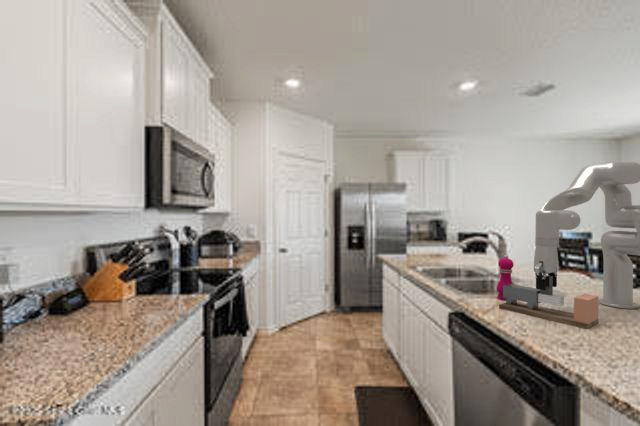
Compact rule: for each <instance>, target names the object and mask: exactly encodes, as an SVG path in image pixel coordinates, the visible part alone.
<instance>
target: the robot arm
mask: <svg viewBox="0 0 640 426" xmlns="http://www.w3.org/2000/svg"><path fill="white" fill-rule="evenodd" d="M639 182H640V163H639V162H633V161H632V162H631V161H625V162H624V161H610V162H601V163H600V162H599V163H591V164H587V165H586V166H583V168H581V169H580V171H579V173H578V174H577V175H576V177H575V178H574V180H573V181H572V182H571V183H570V185H569V187H568V188H566V189H565V190H564V191H562V192H559V193H558V194H556V195H555V196H553V197H552V198H550V199H549V200H547V201H546V202H545V203H544V205H542V207H541V209H540V210H538V211H536V213H535V241H534V242H535V245H534V246H535V251H534V257H533V272H535V273H534V274H535V288H536V289H540V290H546V279H545V277H546V275H548V276H553V288H557V286H558V282H557V281H558V267H559V264H558V263H559V260H558V259H559V256H558V254H559V253H558V248H560V230H563V231H564V230H565V231H568V230H569V231H571V230H575V229H577V228H578V227H579V226H580V224H581V217H580V215H579V214H578V213H577V212H575V211H573V210H569V208H572V207H576V206H579V205H580V206H581V205H582V204H585V203H588V202H590V200H591V199H592V198H593V196H594V195H595V194H596V192H597V190H598V189H599V188H600V189H601V192H603V195H604V219H605V223H606V225H607V226H609V227H611V228H620V229H635V230H636V231H627V230H610V231H606V232H604V233H603V234H602V235H601V237H600V245H601V250H602V255H603V257H602V258H603V275H602V276H603V277H602V279H603V280H602V284H603V286H602V298H598V304H599V305H600V304H601V305H603V306H607V307H612V308H619V309H628V310H631V309H632V310H634V309H638V304H637V303H635V302H633V301H634V299H633V298H634V297H633V296H634V291H633V290H634V264H633V261H632V260H631V258H630V257H629V256H631V255H632V256H640V204H637V205H636V204H633V203H632V202H633V201H632V193H631V190H630V189H629V188H628V186H627V185H634V184H637V183H638V184H639ZM566 209H568V210H566ZM628 255H629V256H628Z"/></svg>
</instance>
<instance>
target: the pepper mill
mask: <svg viewBox="0 0 640 426" xmlns="http://www.w3.org/2000/svg"><path fill="white" fill-rule="evenodd" d="M514 265H515V264H514V261H513V260H512V259H511V258H509V256H508V255H507V254H504V255H503V257H502V258H500V259H499V260H498V267H499V273H500V278H499V281H498V283H497V286H496V290H497V292H498V294H497V299H498V300H501V301H506V298H504V297H503V285H507V284H513V285H514V283H513V281H512V273H513V267H514Z"/></svg>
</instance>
